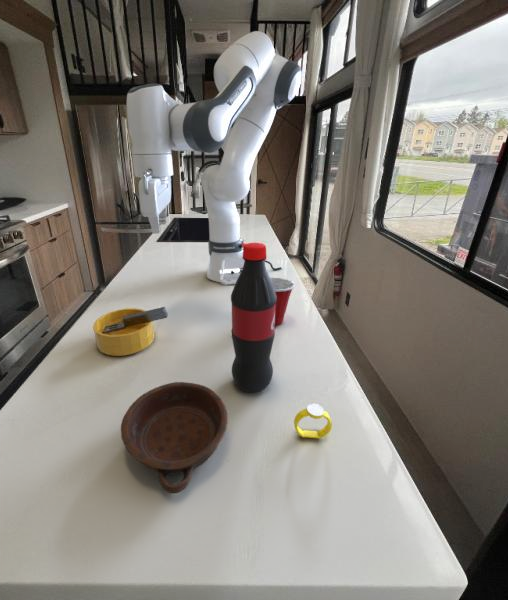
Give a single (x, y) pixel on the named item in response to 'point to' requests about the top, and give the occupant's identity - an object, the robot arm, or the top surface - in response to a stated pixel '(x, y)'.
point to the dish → (174, 429)
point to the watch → (316, 413)
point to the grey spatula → (137, 319)
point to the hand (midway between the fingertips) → (159, 228)
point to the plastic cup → (281, 297)
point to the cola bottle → (253, 321)
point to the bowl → (122, 334)
